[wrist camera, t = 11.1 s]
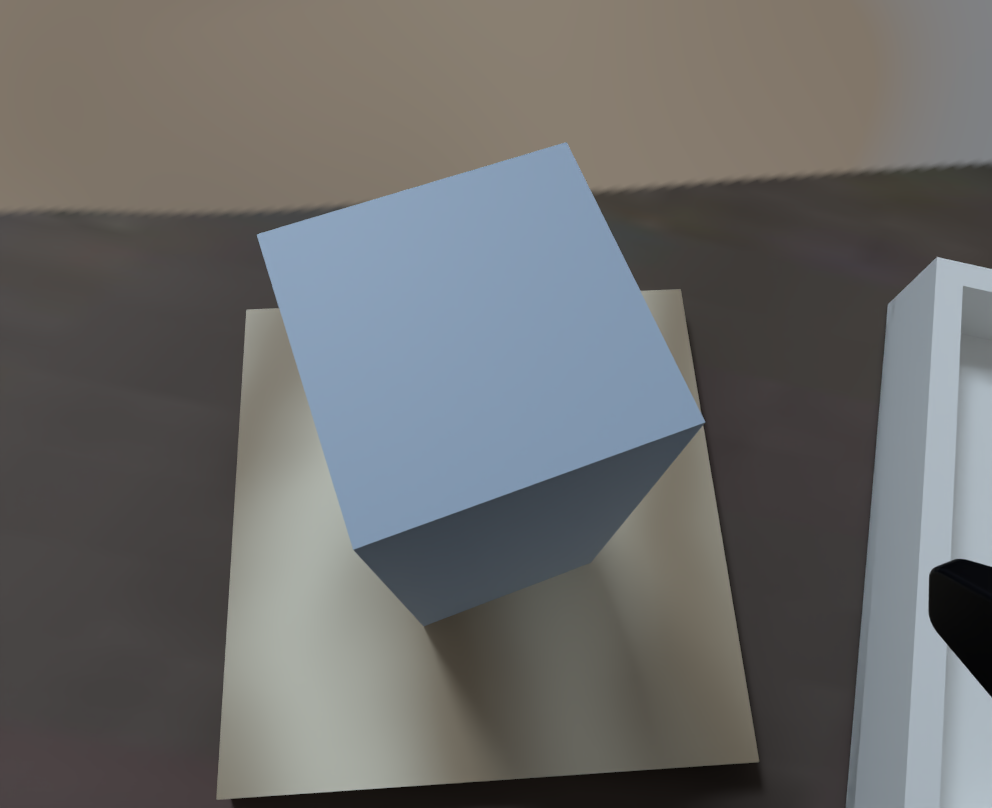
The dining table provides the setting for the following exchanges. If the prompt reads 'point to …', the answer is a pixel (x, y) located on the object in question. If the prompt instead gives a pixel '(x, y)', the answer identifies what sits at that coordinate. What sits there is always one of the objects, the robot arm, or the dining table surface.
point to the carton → (479, 378)
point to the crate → (926, 549)
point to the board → (465, 630)
